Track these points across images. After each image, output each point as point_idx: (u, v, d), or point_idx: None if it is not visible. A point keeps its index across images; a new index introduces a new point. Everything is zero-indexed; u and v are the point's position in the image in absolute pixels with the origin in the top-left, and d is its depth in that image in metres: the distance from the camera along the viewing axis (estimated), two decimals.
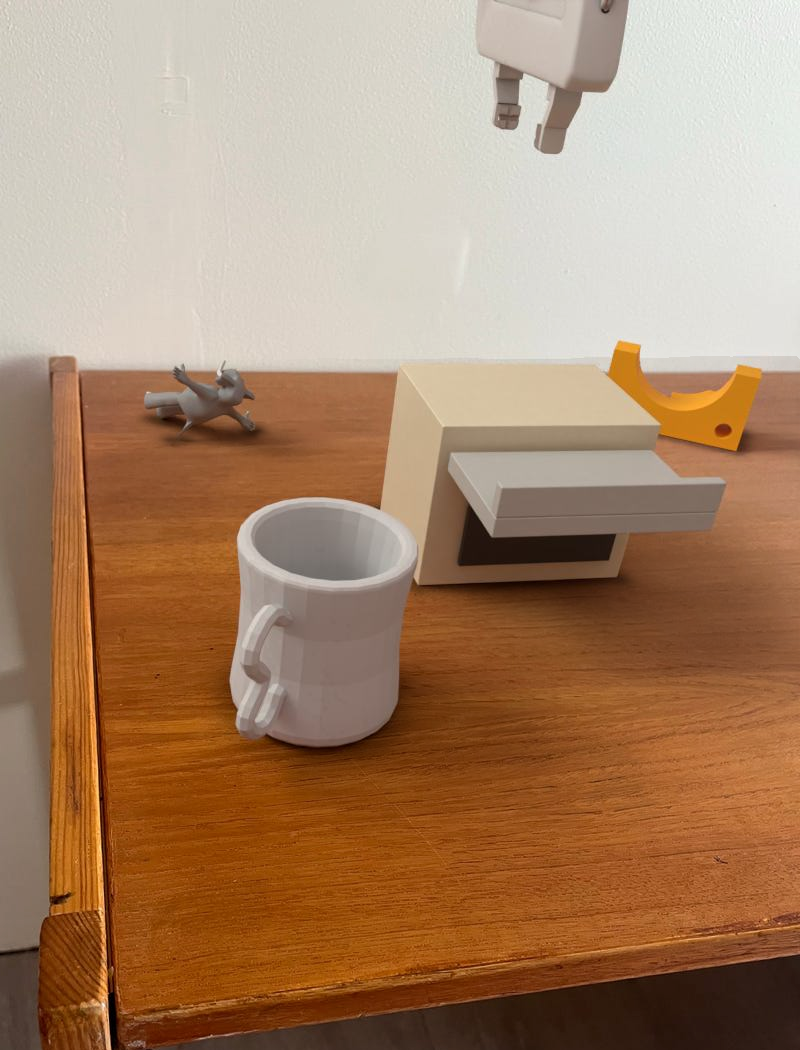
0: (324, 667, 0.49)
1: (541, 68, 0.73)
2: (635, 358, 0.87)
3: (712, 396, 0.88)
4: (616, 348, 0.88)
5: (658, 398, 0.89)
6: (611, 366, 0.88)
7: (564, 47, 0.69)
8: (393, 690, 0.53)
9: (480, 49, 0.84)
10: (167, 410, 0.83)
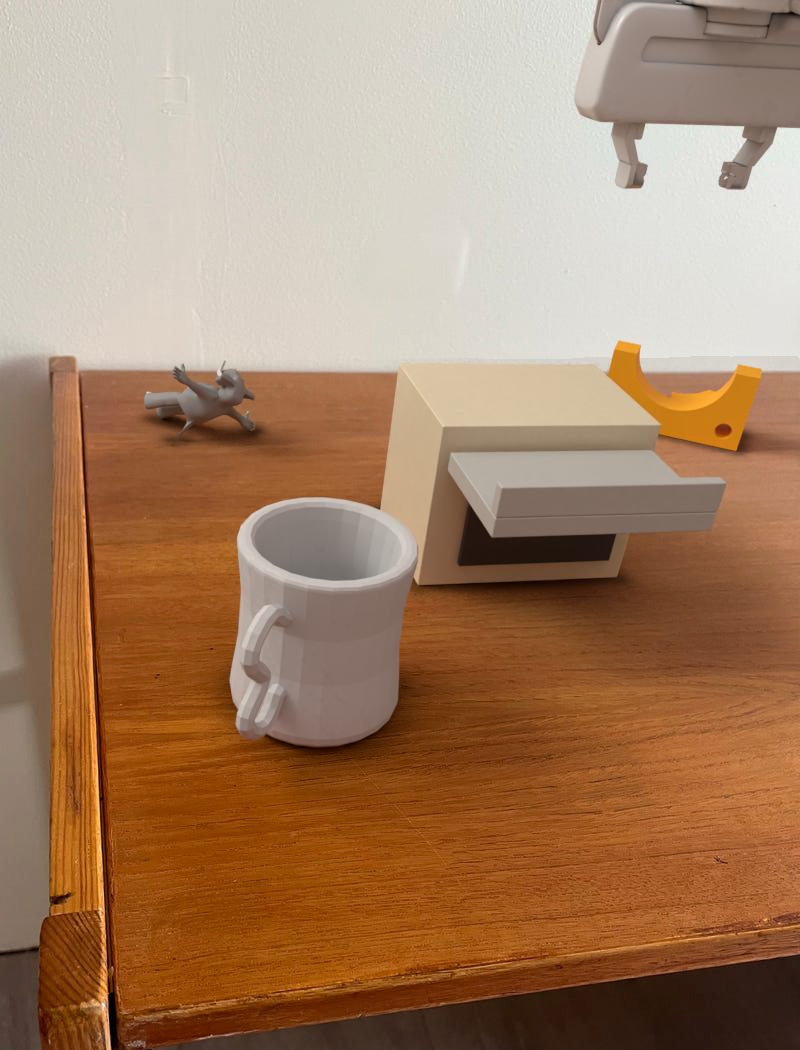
0: (324, 667, 0.49)
1: None
2: (635, 358, 0.87)
3: (712, 396, 0.88)
4: (616, 348, 0.88)
5: (658, 398, 0.89)
6: (611, 366, 0.88)
7: None
8: (393, 690, 0.53)
9: None
10: (167, 410, 0.83)
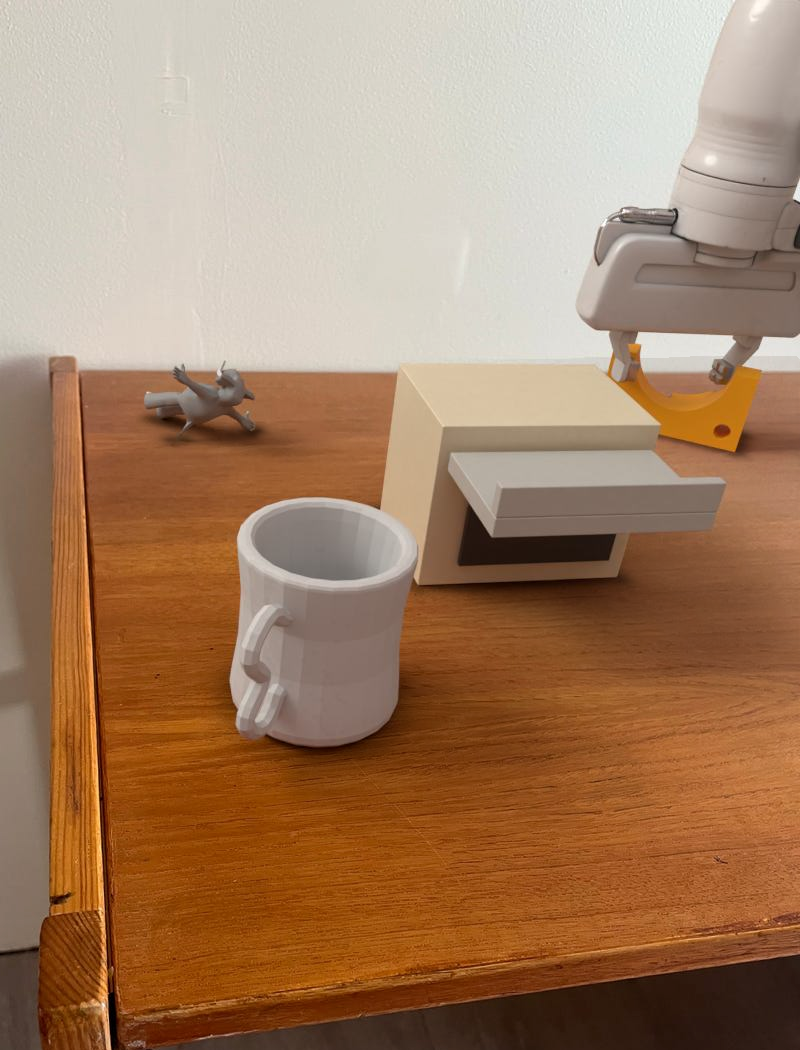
0: (324, 667, 0.49)
1: None
2: (634, 357, 0.88)
3: (712, 397, 0.88)
4: None
5: (658, 398, 0.90)
6: (610, 365, 0.89)
7: None
8: (393, 690, 0.53)
9: None
10: (167, 410, 0.83)
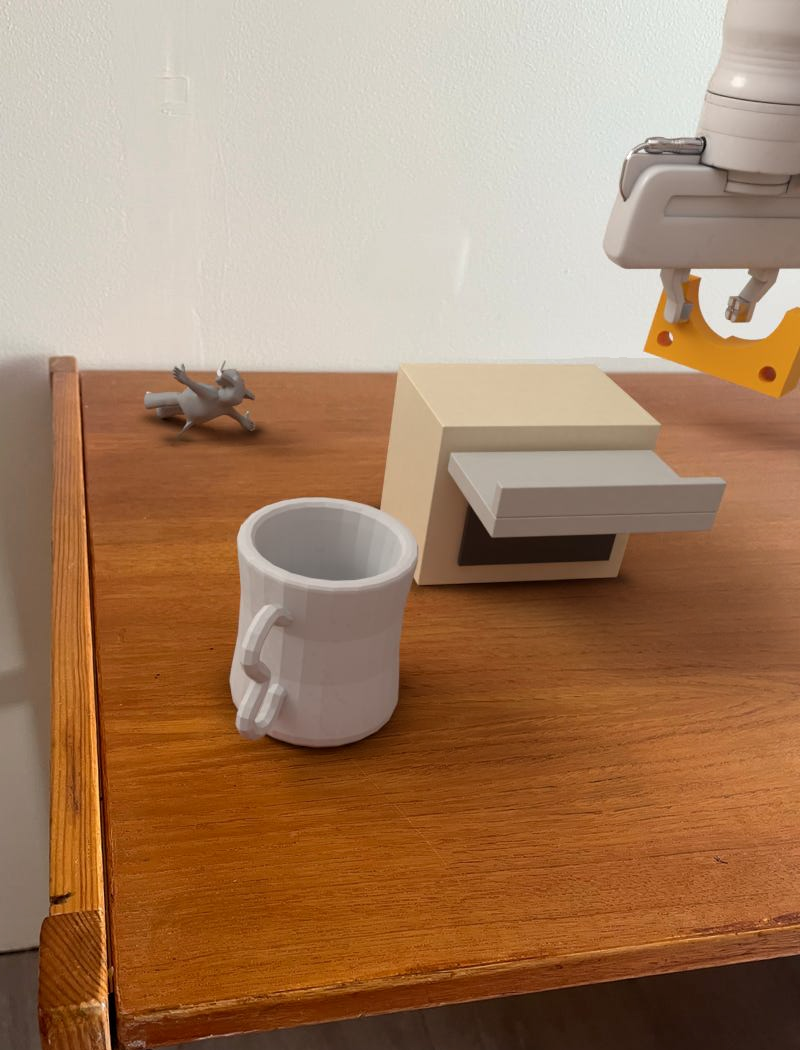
0: (324, 667, 0.49)
1: None
2: (687, 286, 0.84)
3: None
4: None
5: (709, 335, 0.86)
6: (663, 293, 0.86)
7: None
8: (393, 690, 0.53)
9: None
10: (167, 410, 0.83)
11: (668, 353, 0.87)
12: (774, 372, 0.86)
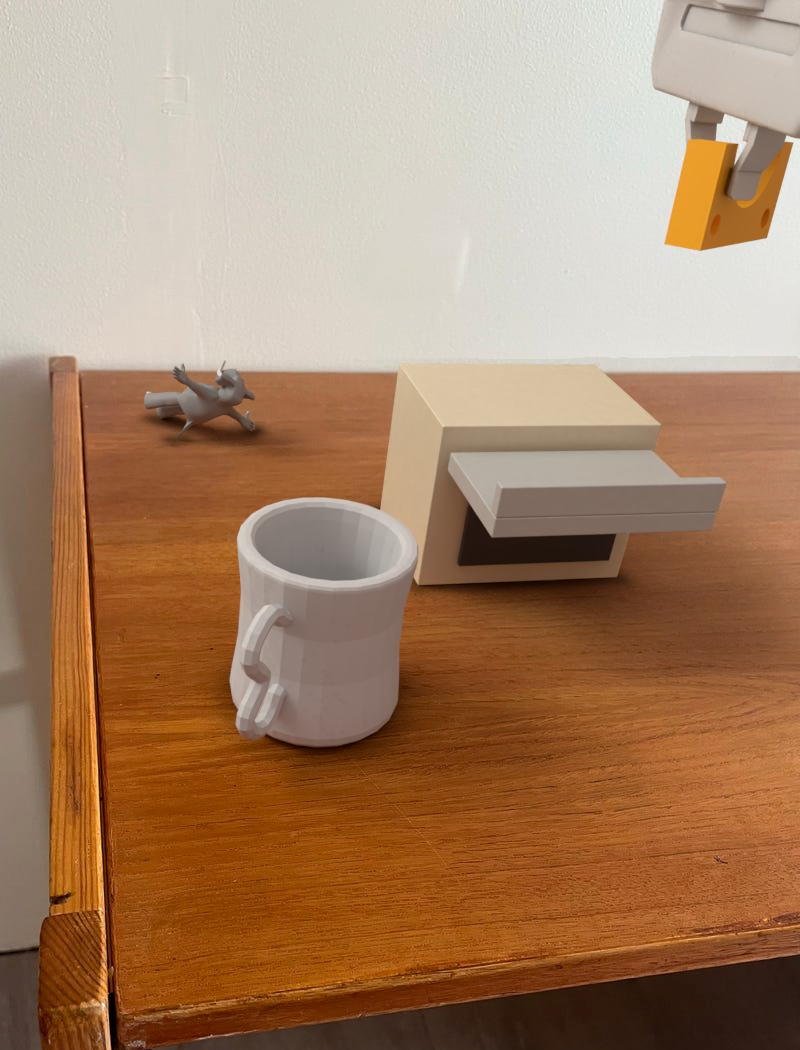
0: (324, 667, 0.49)
1: (756, 111, 0.63)
2: (735, 151, 0.67)
3: None
4: (723, 143, 0.66)
5: None
6: (721, 169, 0.66)
7: (796, 88, 0.59)
8: (393, 690, 0.53)
9: (658, 83, 0.74)
10: (167, 410, 0.83)
11: (715, 240, 0.70)
12: None
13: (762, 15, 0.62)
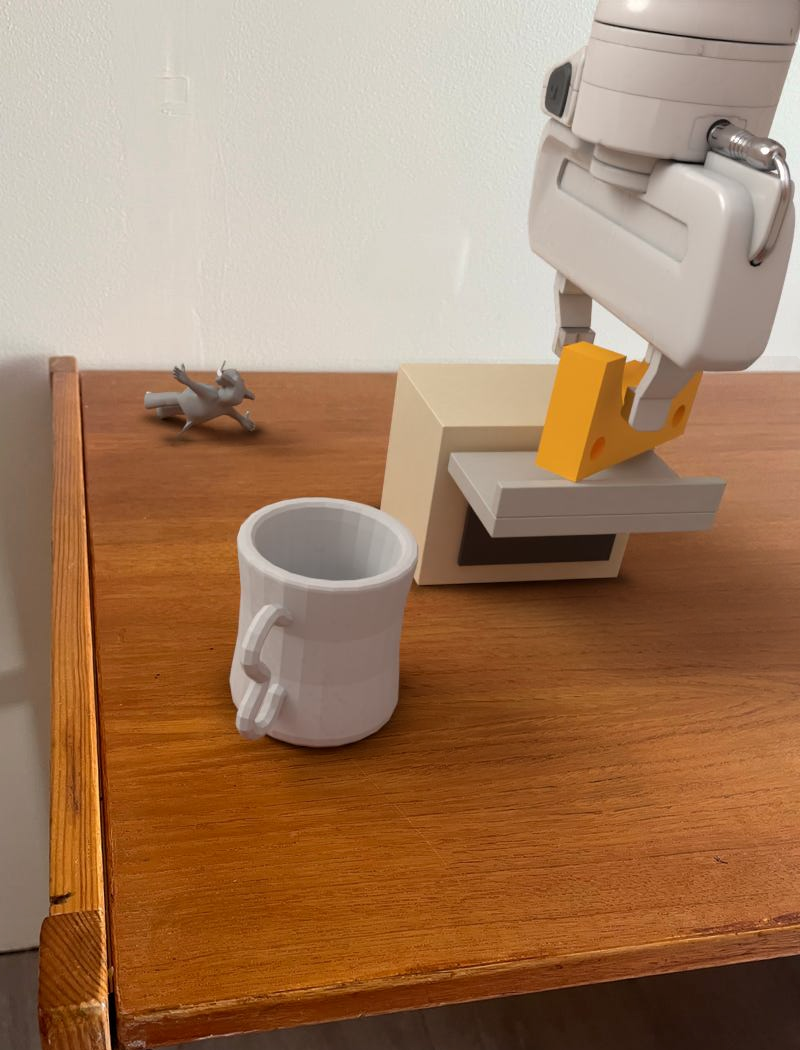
0: (324, 667, 0.49)
1: (640, 322, 0.48)
2: (623, 364, 0.52)
3: None
4: (603, 360, 0.51)
5: None
6: (600, 391, 0.52)
7: (684, 309, 0.44)
8: (393, 690, 0.53)
9: (535, 247, 0.59)
10: (167, 410, 0.83)
11: (599, 463, 0.55)
12: None
13: (644, 198, 0.47)
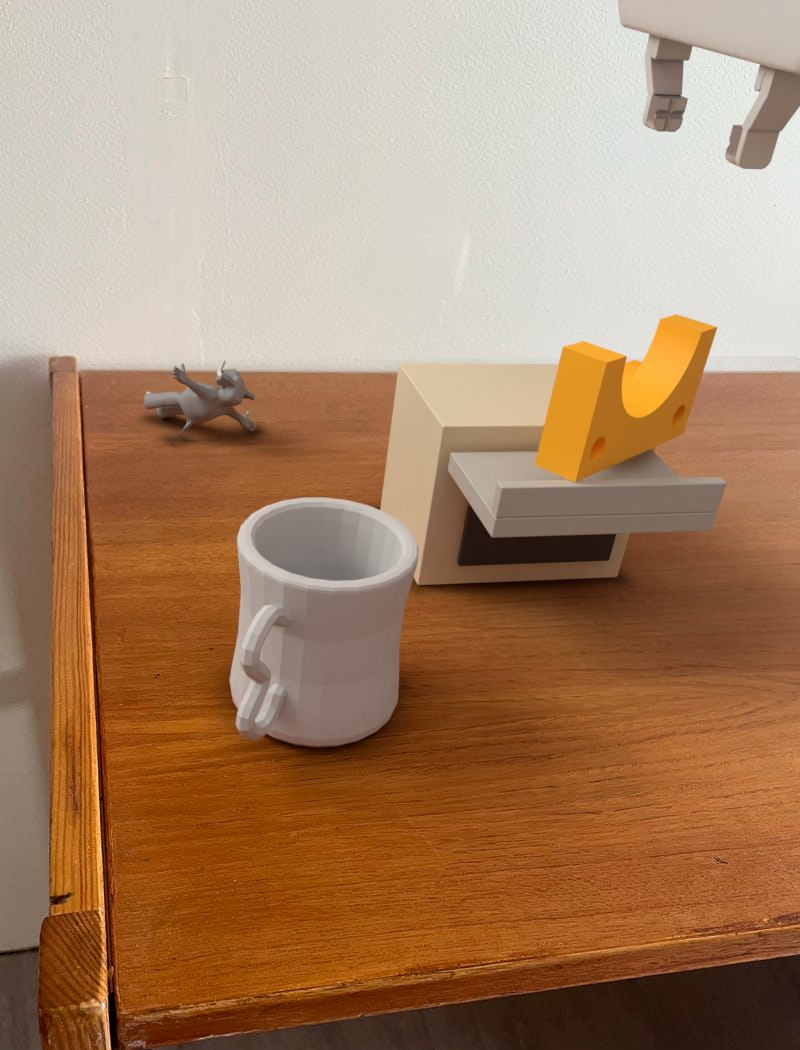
0: (324, 667, 0.49)
1: (750, 44, 0.49)
2: (623, 364, 0.52)
3: (646, 376, 0.59)
4: (603, 360, 0.51)
5: None
6: (600, 391, 0.52)
7: None
8: (393, 690, 0.53)
9: (627, 19, 0.60)
10: (167, 410, 0.83)
11: (599, 463, 0.55)
12: None
13: None
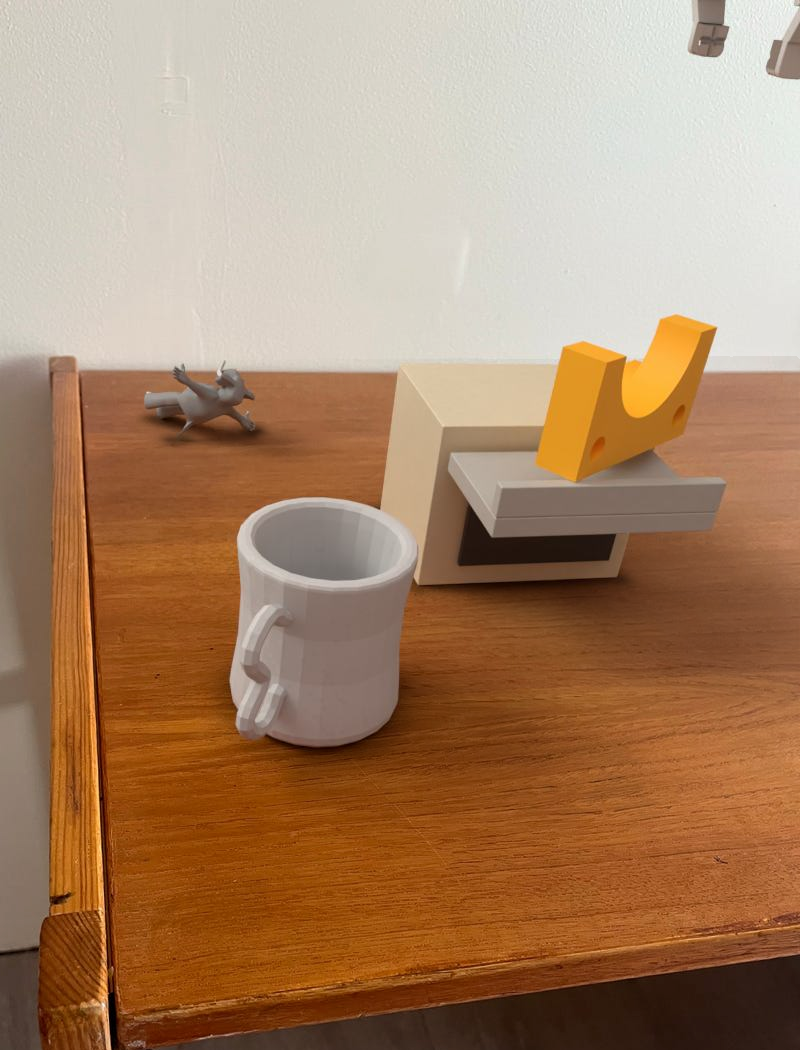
0: (324, 667, 0.49)
1: None
2: (623, 364, 0.52)
3: (646, 376, 0.59)
4: (603, 360, 0.51)
5: None
6: (600, 391, 0.52)
7: None
8: (393, 690, 0.53)
9: None
10: (167, 410, 0.83)
11: (599, 463, 0.55)
12: None
13: None
